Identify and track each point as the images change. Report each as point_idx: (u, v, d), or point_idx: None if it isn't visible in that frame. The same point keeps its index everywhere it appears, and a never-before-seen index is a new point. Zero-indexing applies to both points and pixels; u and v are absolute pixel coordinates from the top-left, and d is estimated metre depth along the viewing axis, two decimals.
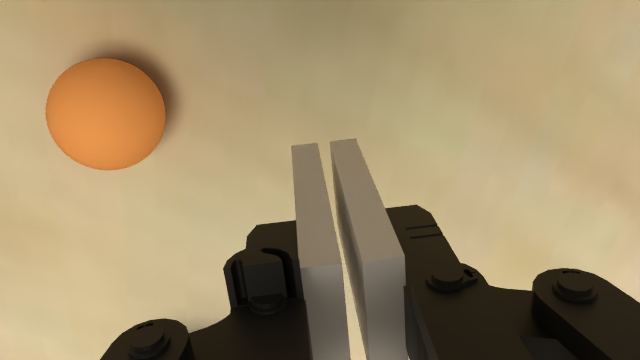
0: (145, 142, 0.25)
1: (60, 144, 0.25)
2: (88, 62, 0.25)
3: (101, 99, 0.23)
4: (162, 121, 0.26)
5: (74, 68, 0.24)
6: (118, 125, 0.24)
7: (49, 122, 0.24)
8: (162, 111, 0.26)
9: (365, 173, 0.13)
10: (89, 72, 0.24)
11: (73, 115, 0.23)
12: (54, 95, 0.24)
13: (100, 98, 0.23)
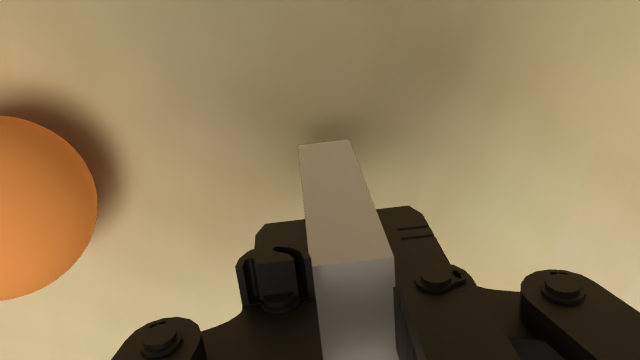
0: (54, 261, 0.15)
1: None
2: None
3: None
4: (87, 219, 0.16)
5: None
6: None
7: None
8: (87, 202, 0.16)
9: (357, 174, 0.13)
10: None
11: None
12: None
13: None
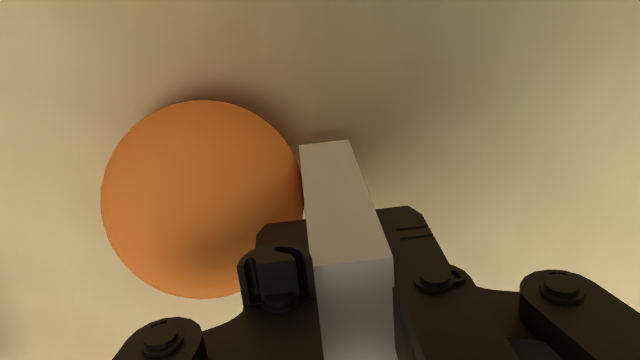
0: None
1: None
2: (180, 111, 0.13)
3: (185, 195, 0.12)
4: None
5: (154, 120, 0.13)
6: (209, 247, 0.12)
7: (101, 210, 0.14)
8: (297, 212, 0.14)
9: (356, 174, 0.13)
10: (176, 134, 0.13)
11: (133, 215, 0.12)
12: (112, 167, 0.13)
13: (183, 193, 0.12)
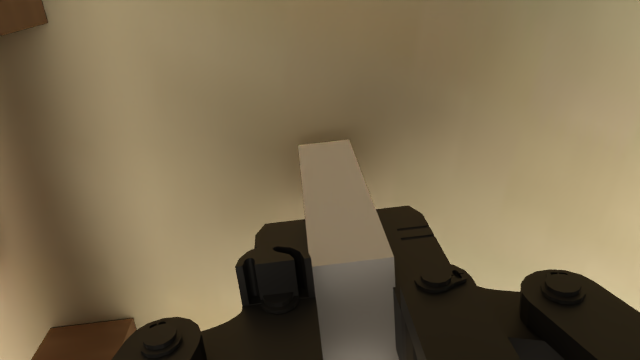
0: None
1: None
2: None
3: None
4: None
5: None
6: None
7: None
8: None
9: (357, 174, 0.13)
10: None
11: None
12: None
13: None
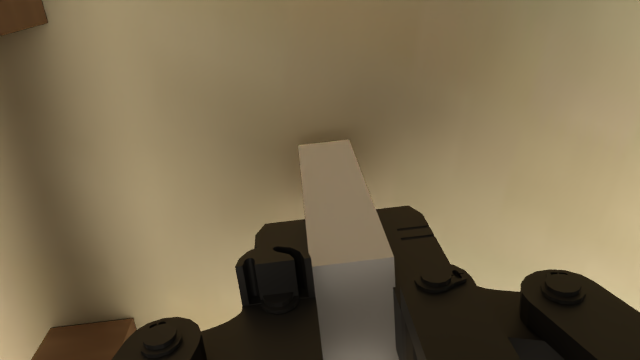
0: None
1: None
2: None
3: None
4: None
5: None
6: None
7: None
8: None
9: (357, 174, 0.13)
10: None
11: None
12: None
13: None
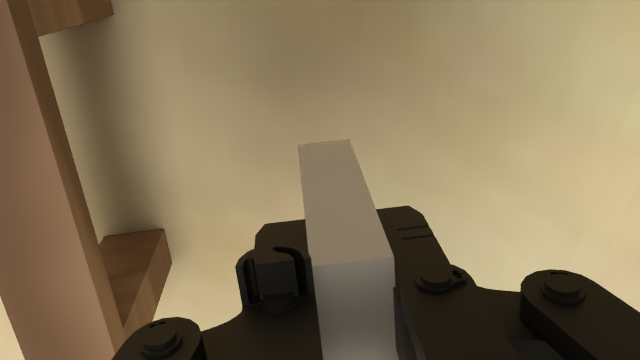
0: None
1: None
2: None
3: None
4: None
5: None
6: None
7: None
8: None
9: (357, 174, 0.13)
10: None
11: None
12: None
13: None
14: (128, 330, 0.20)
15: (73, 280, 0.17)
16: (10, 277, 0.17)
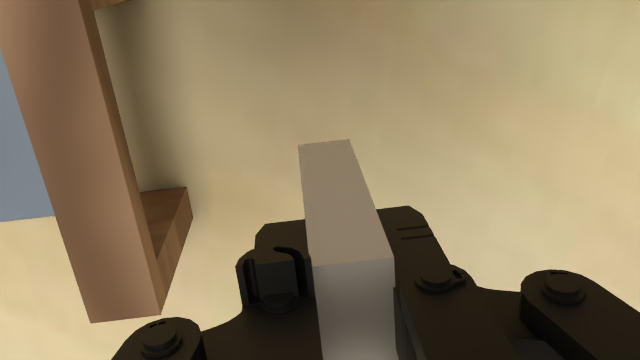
0: None
1: None
2: None
3: None
4: None
5: None
6: None
7: None
8: None
9: (357, 174, 0.13)
10: None
11: None
12: None
13: None
14: (160, 262, 0.23)
15: (118, 214, 0.21)
16: (67, 210, 0.20)
